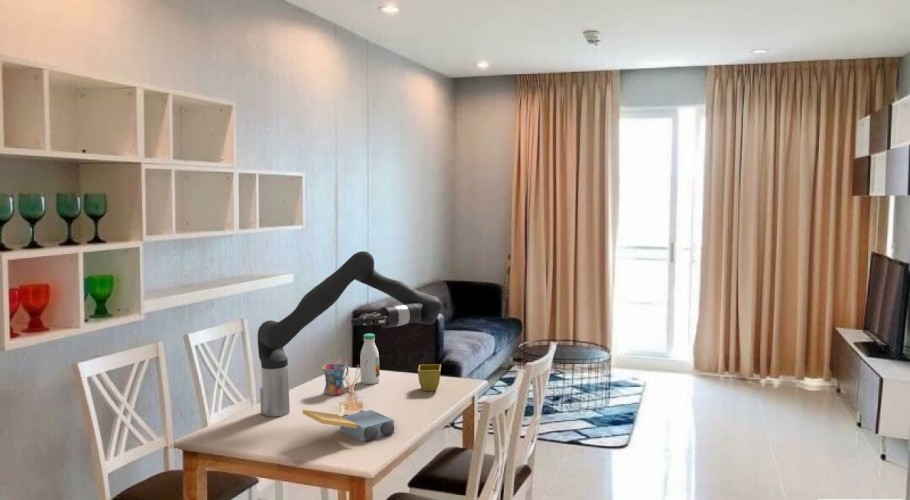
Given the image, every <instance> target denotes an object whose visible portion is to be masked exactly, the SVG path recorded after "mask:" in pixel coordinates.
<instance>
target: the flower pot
mask: <svg viewBox="0 0 910 500" xmlns="http://www.w3.org/2000/svg"><path fill="white" fill-rule="evenodd" d="M441 368H442V364H419V365H418V369H417V374H418V376H417V377H418V382H419V385H420V388H421V390H422V391H424V392H436V391H437V390H438V388H439V384H440V379H441V370H442V369H441Z"/></svg>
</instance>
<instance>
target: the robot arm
mask: <svg viewBox="0 0 910 500" xmlns="http://www.w3.org/2000/svg"><path fill="white" fill-rule="evenodd" d="M353 281H357V282H360V283H361V284H364V285H367V286H369V287H370V288H373V289H375V290H377V291H380V292H382V293H384V294H386V295H388V296H389V297H391V298H392V299H395V300H396V301H397V302H399V303H401V304H396V305H388V306H381V308H379V310H378V312H371V313H367V312H364V313H362V314H361V315H358V317H356V318H352V319H351V320H350V321H351V325H352V326H361V325H363V326H381V327H382V328H384V329H387V328H393V327H394V328H395V327H399V326H403V325H407V324H414V323H415V324H416V323H417V324H424V325H431V324H432V325H433V323H435V322H436V321H437V320H438V317H439V315H440V314H441V313H440V312H441V310H442V309H443V303H442V301H441V300H440V298H438V297H437V296H434V295H432V294H431V295H430V294H428V293H424V292H421V291H420V290H419V291H418V290H416V289H415V288H414V287H412V286H410V285H408V284H407V283H404V282H402V281H400V280H396V279H394V278H393V279H392V278H390V277H386V276H384V275H382V274H381V273H379V272H378V271H377V270H376V269H375V259H374V256H373V255H372V253H371V252H369V251H364V250H363V251H358V252H356V253H354V254H353V255H352V256H350V257H349V258H348V259H347V260H346V261H345V262H344V263H343V264H342V265H341V266H340V267H339V268H338V269H337V270H336V271H334V272H333V273H332V274H330V275H329V276H328V277H326V278H325V279H324V280H322V281H321V282H320V283H318V284H317V285H315V286H314V287H313V288H312V289H311V290H309V291H308V292H307V293H306V294H304V296H303V297H302V298H301V300H300V301H299V302H298V304H297V306H296V307H295V309H294V310H293V311H291V312H290V314H288V315H287V316H285V317H284V318H283V319H281V320H280V321H276V320H266V321H264V322H263V323H261V325H260V326H259V327H258V330H257V349H258V350H257V351H258V358H259V361H260V365H261V387H260V389H259V399H260V400H259V401H260V403H259V404H260V415H264V416H266V417H270V418H271V417H274V418H275V417H282V416H285V415H288V414H290V412H291V411H290V384H289V383H290V382H289V364H288V363H289V360H288V357H287V355H286V353H285V351H284V347H285V346H286V345H288V344H289V343H290V342H291V341H292V340H293V339H294V338H295V337H296V336H297V335H298V334H299V333H300V332H301V331H302V330H303V329H304V328H305V327H306V326H308V325H309V324H311V323H312V322H313V321H314V320H316V319H317V318H318V317H319V316H321V315H322V314H323V313H324V312H326V311H327V310H328V309H330V308H331V307H332V306H333V305H334V304H335V303H336V302H337V301H338V300H339V299H340V297H341V296H342V294H344V291H345V290H346V289H347V288H348V287H349V285H350V284H352V283H353ZM419 304H421V305H422V306H421V307H420V306H419Z"/></svg>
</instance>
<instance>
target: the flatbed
mask: <svg viewBox="0 0 910 500" xmlns="http://www.w3.org/2000/svg"><path fill="white" fill-rule="evenodd" d="M341 417H343V418H345V419H347V420H349V421H351V422H354V423H356V424H358V425H360V426H361V429H358V428H351V427H344V426H339V427H340V428H339V429H340V431H341V432H343V433H346V434H347V435H349V436H352V437H353V438H356V439H357V440H359V441H361V442H365V441H374V440H375V439H377V438H380V437H383V436H388V437H389V436H391V435H392V434H394V433H395V423H394V422H395V420H394V418H391V417H389V416H386V415H384V414H381V413H379V412H378V411H375V410H374V409H373V410H372V409H368V410H364V409H363V410H360V411H358V412H355V413H352V414H344V415H342V416H341Z"/></svg>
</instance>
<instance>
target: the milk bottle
mask: <svg viewBox="0 0 910 500" xmlns="http://www.w3.org/2000/svg"><path fill="white" fill-rule="evenodd" d="M375 336H376V334H374V333H365V334H363V341H364V342H363V345H362V348H361V350H360V357H359V358H360V361H359V362H360V363H359V364H360V365H359V366H360V382H361V384H364V385H375V384H378V383H380V380H381V379H380V378H381V377H380V376H381V375H380V373H381V372H380V355H379V351H378V347H377V345H376V343H375V339H376V337H375ZM367 360H368V361H367ZM366 361H367V364H366V366H365V367H364V365H365V363H366ZM363 367H364V368H363ZM362 368H363V369H362Z"/></svg>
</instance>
